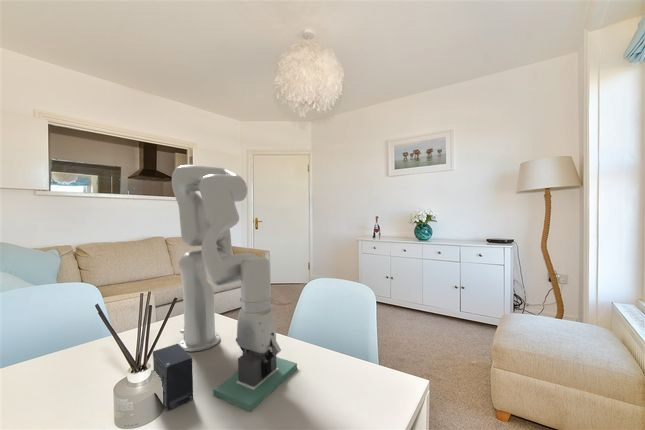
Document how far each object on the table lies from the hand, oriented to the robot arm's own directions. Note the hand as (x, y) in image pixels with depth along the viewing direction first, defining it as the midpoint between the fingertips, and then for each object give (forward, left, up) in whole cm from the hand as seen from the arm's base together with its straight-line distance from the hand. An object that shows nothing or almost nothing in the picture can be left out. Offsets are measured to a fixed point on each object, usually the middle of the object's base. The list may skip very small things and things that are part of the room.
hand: (258, 371), depth 76 cm
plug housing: (0, 0, -1) cm, 1 cm away
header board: (0, 0, -3) cm, 3 cm away
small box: (-15, -14, -3) cm, 21 cm away
